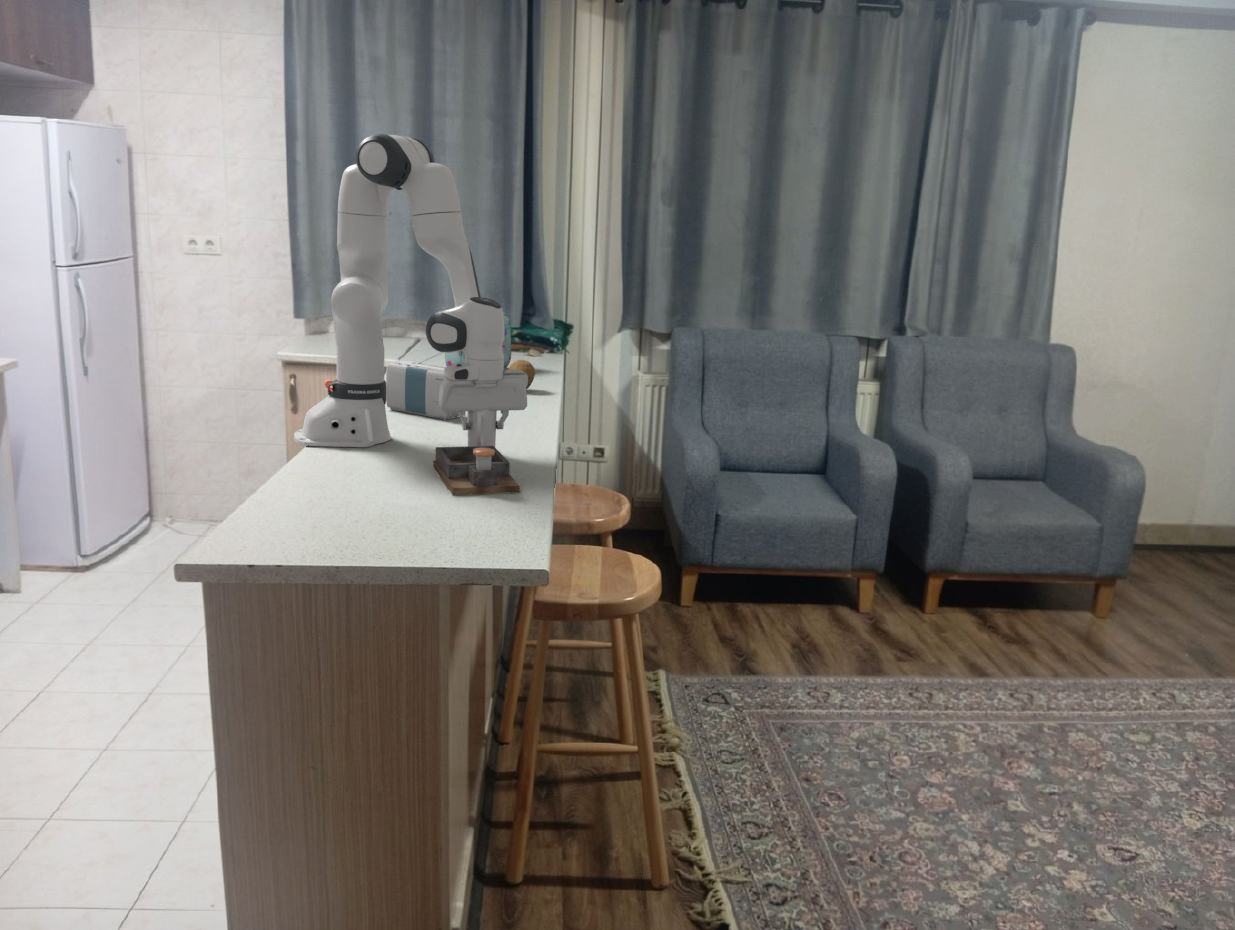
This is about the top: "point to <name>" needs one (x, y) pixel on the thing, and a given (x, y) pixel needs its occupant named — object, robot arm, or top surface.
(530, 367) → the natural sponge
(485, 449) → the click button
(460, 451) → the board
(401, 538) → the top surface
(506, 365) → the lunch box
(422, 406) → the stereo radio cassette player
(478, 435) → the mug
